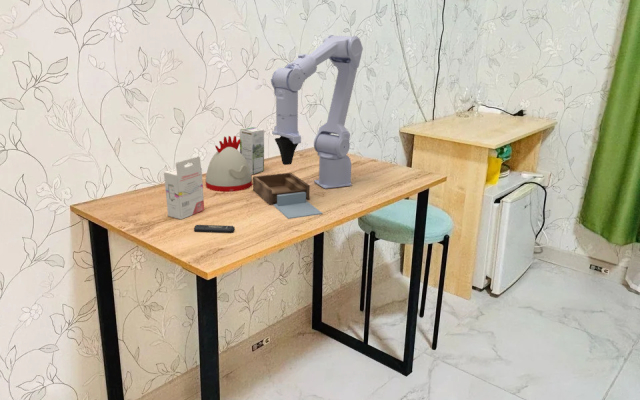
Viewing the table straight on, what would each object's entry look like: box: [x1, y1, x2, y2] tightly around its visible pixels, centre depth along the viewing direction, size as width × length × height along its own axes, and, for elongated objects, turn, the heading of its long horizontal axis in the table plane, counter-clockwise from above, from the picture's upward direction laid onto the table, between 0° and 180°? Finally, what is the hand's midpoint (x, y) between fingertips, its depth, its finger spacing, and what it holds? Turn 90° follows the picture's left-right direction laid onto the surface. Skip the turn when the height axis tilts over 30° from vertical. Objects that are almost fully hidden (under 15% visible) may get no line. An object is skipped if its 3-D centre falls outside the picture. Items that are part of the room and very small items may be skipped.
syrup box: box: [239, 126, 265, 176], centre depth 170 cm, size 6×6×14 cm
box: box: [252, 172, 311, 206], centre depth 149 cm, size 14×12×4 cm
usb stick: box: [193, 224, 236, 234], centre depth 123 cm, size 10×3×2 cm, turn 88°
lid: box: [273, 192, 323, 220], centre depth 138 cm, size 11×10×4 cm
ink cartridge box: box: [163, 155, 205, 220], centre depth 132 cm, size 9×5×15 cm, turn 148°
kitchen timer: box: [205, 135, 253, 193], centre depth 156 cm, size 14×14×15 cm
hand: (287, 164), depth 142 cm, fingers closed
